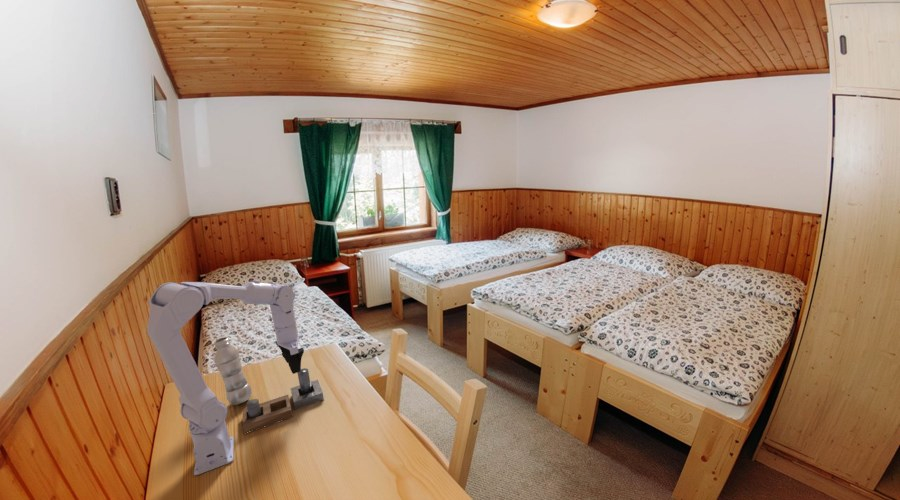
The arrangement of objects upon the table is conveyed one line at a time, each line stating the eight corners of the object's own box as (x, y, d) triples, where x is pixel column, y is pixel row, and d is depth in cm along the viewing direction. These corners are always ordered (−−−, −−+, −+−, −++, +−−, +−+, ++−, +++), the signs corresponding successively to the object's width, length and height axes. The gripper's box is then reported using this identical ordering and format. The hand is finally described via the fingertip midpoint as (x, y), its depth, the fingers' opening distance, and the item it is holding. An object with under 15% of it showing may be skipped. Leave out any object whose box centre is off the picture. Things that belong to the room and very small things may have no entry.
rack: (292, 417, 105) (289, 398, 104) (244, 434, 100) (240, 414, 98) (289, 401, 112) (286, 384, 111) (244, 416, 107) (240, 398, 105)
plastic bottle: (258, 393, 116) (238, 333, 113) (244, 406, 110) (222, 343, 106) (239, 396, 117) (219, 336, 114) (224, 409, 111) (202, 346, 107)
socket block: (323, 400, 112) (322, 392, 111) (295, 409, 108) (293, 402, 108) (319, 386, 119) (317, 379, 118) (291, 395, 115) (290, 388, 115)
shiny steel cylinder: (313, 398, 113) (308, 371, 111) (303, 402, 112) (298, 375, 109) (312, 393, 116) (307, 367, 113) (301, 396, 114) (296, 370, 112)
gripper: (306, 328, 104) (313, 372, 108) (293, 312, 116) (301, 352, 119) (278, 336, 101) (287, 381, 104) (268, 319, 112) (277, 360, 116)
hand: (293, 366), depth 111 cm, fingers open, 7 cm apart
